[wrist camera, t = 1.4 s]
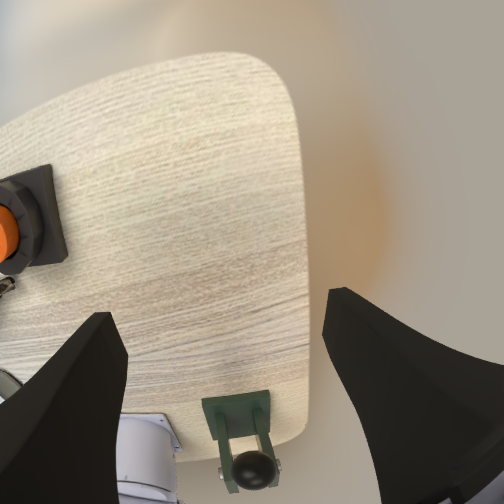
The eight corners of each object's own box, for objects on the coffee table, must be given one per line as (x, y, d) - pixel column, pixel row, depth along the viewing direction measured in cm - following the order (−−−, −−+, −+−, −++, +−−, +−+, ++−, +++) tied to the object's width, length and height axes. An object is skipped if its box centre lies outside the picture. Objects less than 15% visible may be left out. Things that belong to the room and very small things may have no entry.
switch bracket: (201, 398, 26) (209, 477, 17) (268, 389, 27) (292, 464, 18) (212, 434, 29) (221, 498, 20) (268, 426, 30) (286, 488, 22)
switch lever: (225, 452, 14) (234, 495, 12) (274, 445, 14) (283, 486, 12) (232, 459, 23) (237, 484, 21) (261, 455, 23) (266, 479, 21)
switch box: (68, 255, 18) (52, 273, 15) (1, 265, 17) (-17, 281, 14) (50, 163, 15) (29, 169, 12) (-18, 186, 14) (-40, 195, 11)
